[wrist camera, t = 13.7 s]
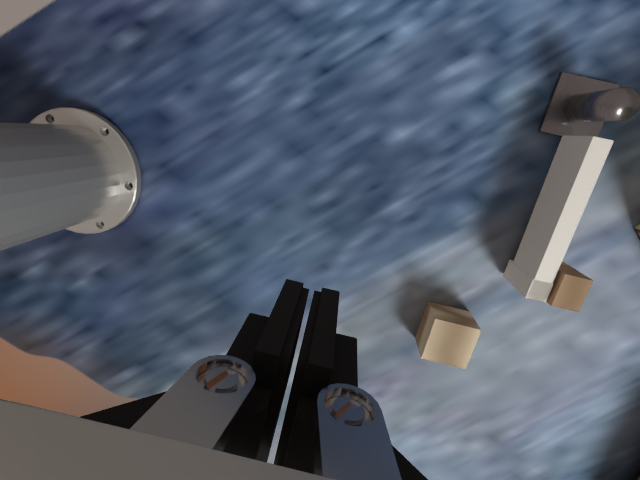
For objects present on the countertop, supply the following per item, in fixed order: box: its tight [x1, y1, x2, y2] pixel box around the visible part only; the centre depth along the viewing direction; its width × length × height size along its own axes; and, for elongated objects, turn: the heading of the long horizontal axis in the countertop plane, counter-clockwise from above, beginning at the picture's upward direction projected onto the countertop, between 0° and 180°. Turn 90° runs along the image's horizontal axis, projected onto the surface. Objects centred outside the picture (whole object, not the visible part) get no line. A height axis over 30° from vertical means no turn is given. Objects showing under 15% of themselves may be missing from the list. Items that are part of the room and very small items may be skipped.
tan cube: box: [415, 301, 481, 369], centre depth 39 cm, size 4×4×4 cm
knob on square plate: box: [538, 72, 640, 137], centre depth 31 cm, size 5×5×6 cm
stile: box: [547, 261, 593, 312], centre depth 35 cm, size 3×3×6 cm
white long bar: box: [503, 135, 614, 302], centre depth 34 cm, size 14×2×5 cm, turn 168°
